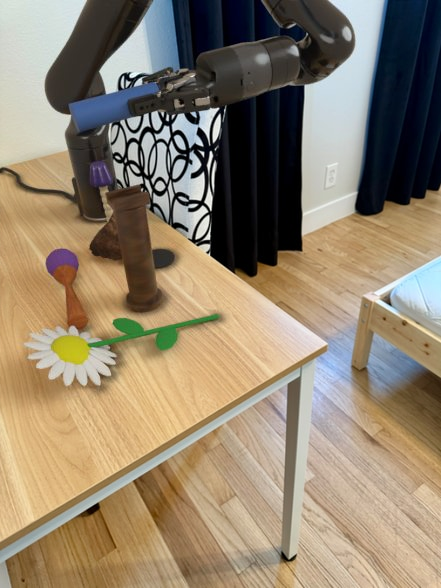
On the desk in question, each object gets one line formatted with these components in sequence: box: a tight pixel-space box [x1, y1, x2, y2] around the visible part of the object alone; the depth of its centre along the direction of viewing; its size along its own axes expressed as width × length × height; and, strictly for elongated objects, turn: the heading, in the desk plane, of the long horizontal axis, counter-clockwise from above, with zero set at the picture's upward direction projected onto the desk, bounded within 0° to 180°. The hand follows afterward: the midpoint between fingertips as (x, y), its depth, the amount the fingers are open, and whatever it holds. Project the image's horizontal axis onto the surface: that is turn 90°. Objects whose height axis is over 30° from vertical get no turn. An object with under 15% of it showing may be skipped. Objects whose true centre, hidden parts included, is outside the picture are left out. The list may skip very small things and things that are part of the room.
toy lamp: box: [90, 161, 113, 223], centre depth 91 cm, size 5×5×17 cm
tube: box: [69, 82, 160, 132], centre depth 59 cm, size 12×4×4 cm, turn 117°
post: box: [105, 184, 164, 313], centre depth 71 cm, size 6×6×21 cm
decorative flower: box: [23, 313, 220, 387], centre depth 67 cm, size 13×5×30 cm
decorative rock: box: [88, 213, 123, 262], centre depth 86 cm, size 12×6×11 cm, turn 77°
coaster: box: [152, 248, 176, 270], centre depth 88 cm, size 7×7×1 cm
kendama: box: [45, 247, 89, 331], centre depth 77 cm, size 6×6×20 cm
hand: (125, 104), depth 59 cm, fingers closed on tube, 3 cm apart
